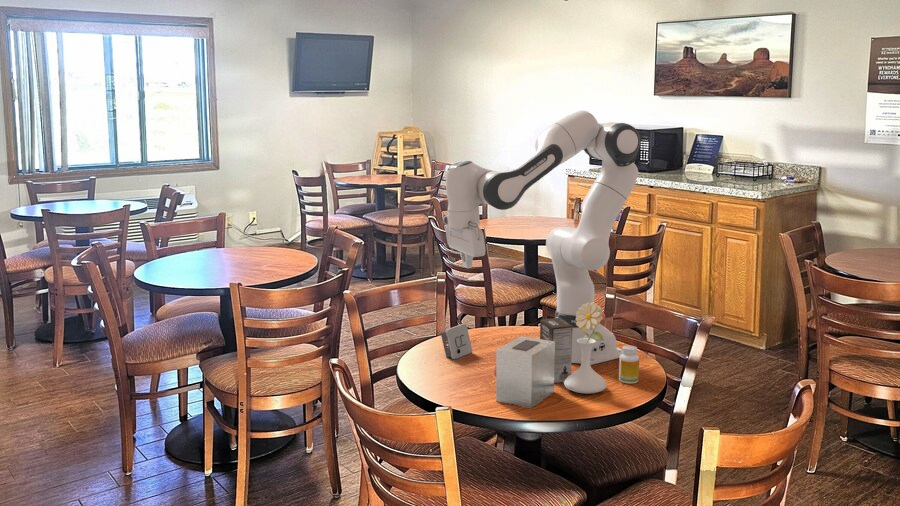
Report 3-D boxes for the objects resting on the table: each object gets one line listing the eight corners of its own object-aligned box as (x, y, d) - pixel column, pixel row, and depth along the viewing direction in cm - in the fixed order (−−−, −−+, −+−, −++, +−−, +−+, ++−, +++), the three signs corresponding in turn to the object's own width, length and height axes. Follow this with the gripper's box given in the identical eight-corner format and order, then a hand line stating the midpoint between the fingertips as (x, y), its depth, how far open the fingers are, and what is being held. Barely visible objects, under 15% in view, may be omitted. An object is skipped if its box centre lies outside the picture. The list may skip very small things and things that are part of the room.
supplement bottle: (641, 383, 230) (642, 349, 228) (622, 384, 229) (624, 350, 227) (634, 377, 235) (635, 343, 233) (615, 378, 234) (617, 344, 232)
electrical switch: (454, 360, 250) (451, 330, 249) (440, 359, 253) (438, 329, 252) (473, 353, 257) (470, 323, 256) (459, 351, 261) (457, 322, 259)
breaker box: (496, 401, 217) (496, 348, 214) (520, 385, 228) (520, 335, 226) (531, 408, 212) (531, 354, 209) (553, 391, 223) (554, 340, 221)
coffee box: (538, 373, 238) (539, 318, 235) (558, 371, 240) (560, 317, 237) (551, 383, 230) (552, 327, 227) (572, 381, 232) (573, 325, 229)
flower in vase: (556, 385, 228) (558, 296, 223) (592, 380, 232) (595, 293, 227) (580, 402, 216) (582, 308, 211) (618, 396, 220) (621, 304, 215)
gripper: (489, 222, 227) (492, 272, 230) (460, 214, 246) (464, 260, 249) (467, 225, 225) (471, 275, 228) (440, 217, 244) (444, 263, 246)
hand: (467, 267), depth 238 cm, fingers closed
